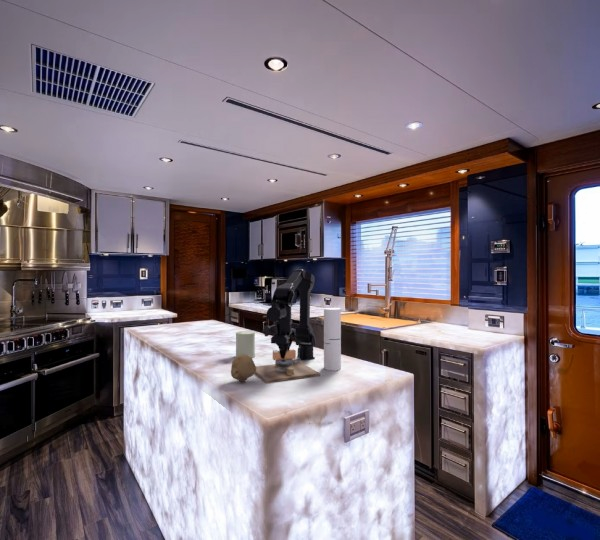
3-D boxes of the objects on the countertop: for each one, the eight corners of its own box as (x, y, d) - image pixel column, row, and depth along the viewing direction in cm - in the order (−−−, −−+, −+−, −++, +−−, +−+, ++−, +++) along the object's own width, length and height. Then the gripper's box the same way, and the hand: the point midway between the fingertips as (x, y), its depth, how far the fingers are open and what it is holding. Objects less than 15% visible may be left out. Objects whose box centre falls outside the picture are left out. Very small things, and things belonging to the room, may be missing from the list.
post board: (299, 363, 157) (299, 356, 157) (319, 375, 139) (319, 367, 139) (250, 369, 148) (250, 361, 148) (266, 383, 130) (266, 374, 130)
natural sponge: (259, 379, 134) (259, 352, 134) (249, 386, 126) (249, 358, 126) (238, 377, 137) (238, 351, 137) (226, 384, 128) (226, 356, 128)
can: (233, 355, 173) (233, 330, 173) (251, 353, 177) (251, 329, 177) (238, 359, 164) (238, 333, 164) (257, 357, 168) (257, 332, 168)
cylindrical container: (340, 370, 146) (340, 309, 146) (322, 369, 147) (322, 309, 147) (341, 366, 153) (341, 308, 153) (325, 365, 154) (325, 307, 154)
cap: (292, 361, 148) (292, 347, 148) (297, 365, 141) (297, 351, 141) (271, 363, 145) (271, 349, 145) (275, 367, 139) (275, 352, 139)
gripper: (271, 315, 154) (270, 351, 154) (258, 321, 136) (257, 362, 136) (296, 315, 152) (296, 352, 152) (286, 322, 134) (286, 363, 134)
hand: (284, 357), depth 143 cm, fingers closed on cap, 4 cm apart
